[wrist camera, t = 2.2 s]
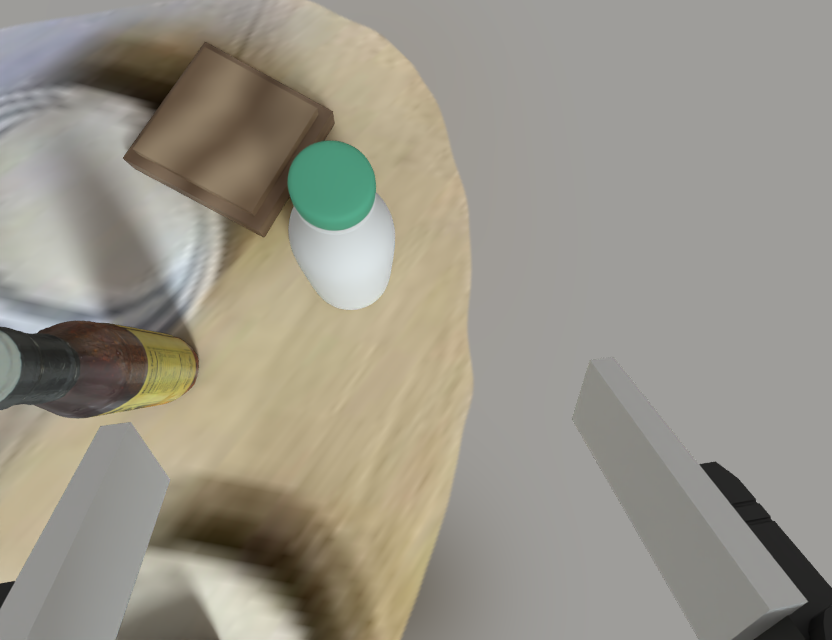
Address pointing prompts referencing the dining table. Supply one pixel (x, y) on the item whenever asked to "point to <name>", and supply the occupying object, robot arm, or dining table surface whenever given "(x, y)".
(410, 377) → the dining table surface
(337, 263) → the milk bottle
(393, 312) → the dining table surface
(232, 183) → the podium
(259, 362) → the dining table surface
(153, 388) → the sauce bottle
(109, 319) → the dining table surface
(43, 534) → the robot arm
